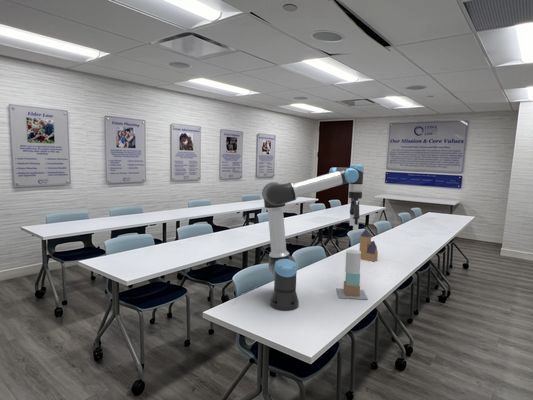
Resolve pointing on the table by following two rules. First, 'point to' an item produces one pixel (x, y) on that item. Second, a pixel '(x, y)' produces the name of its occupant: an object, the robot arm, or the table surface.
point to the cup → (353, 261)
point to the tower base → (342, 296)
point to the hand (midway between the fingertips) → (353, 227)
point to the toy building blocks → (368, 247)
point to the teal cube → (352, 279)
